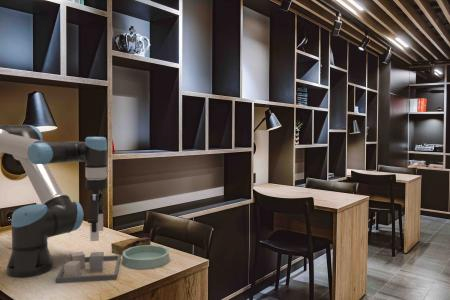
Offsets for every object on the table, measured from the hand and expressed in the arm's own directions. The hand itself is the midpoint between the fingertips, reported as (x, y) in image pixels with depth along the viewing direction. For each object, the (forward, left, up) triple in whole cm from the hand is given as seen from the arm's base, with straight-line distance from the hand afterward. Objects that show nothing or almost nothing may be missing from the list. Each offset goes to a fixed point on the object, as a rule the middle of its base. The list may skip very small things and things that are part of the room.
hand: (97, 235), depth 140 cm
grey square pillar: (0, 0, -13) cm, 13 cm away
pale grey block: (-8, +5, -13) cm, 16 cm away
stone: (+11, +21, -14) cm, 27 cm away
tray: (-2, 0, -13) cm, 13 cm away
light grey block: (-8, -5, -13) cm, 16 cm away
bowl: (+18, +7, -13) cm, 23 cm away
